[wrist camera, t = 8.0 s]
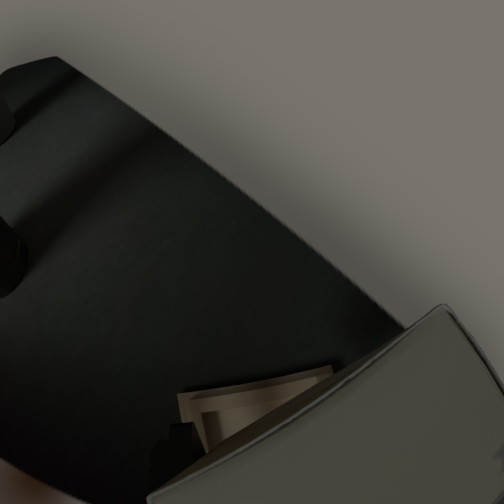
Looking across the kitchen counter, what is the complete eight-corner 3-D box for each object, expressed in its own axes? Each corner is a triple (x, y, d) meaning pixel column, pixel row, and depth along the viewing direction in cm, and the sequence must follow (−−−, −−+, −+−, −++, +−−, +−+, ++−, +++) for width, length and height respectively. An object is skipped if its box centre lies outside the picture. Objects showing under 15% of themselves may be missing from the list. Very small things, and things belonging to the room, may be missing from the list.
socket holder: (208, 530, 20) (205, 539, 18) (179, 394, 26) (173, 392, 24) (358, 497, 21) (367, 503, 19) (328, 366, 28) (335, 362, 26)
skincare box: (320, 379, 16) (453, 281, 5) (364, 440, 14) (549, 438, 3) (214, 443, 14) (127, 493, 3) (259, 507, 12) (283, 656, 1)
